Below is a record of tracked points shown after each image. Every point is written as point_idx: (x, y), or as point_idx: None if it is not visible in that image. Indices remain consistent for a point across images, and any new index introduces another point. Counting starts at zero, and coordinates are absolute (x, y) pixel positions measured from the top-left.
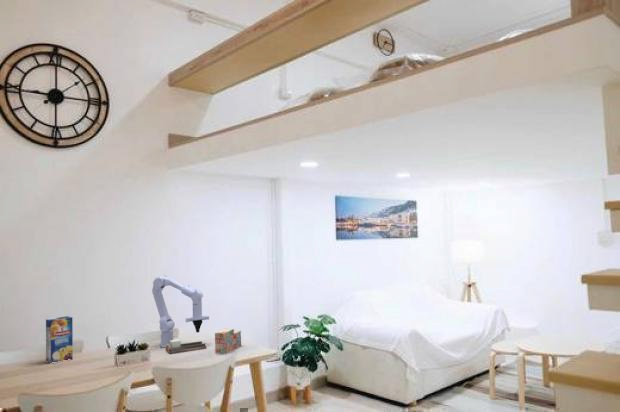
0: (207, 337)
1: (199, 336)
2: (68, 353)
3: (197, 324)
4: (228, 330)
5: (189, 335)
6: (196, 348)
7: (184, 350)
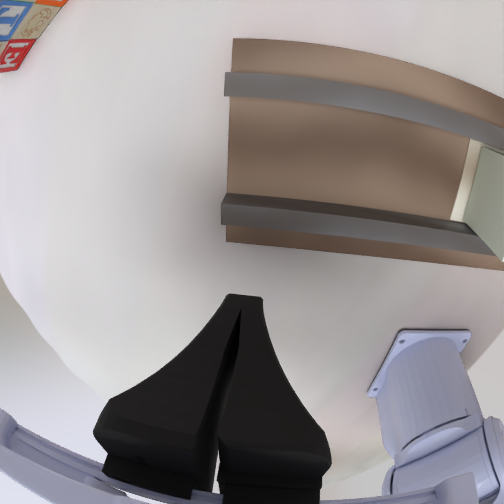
0: (133, 377)
1: None
2: None
3: (246, 398)
4: None
5: None
6: (353, 51)
7: (469, 84)
